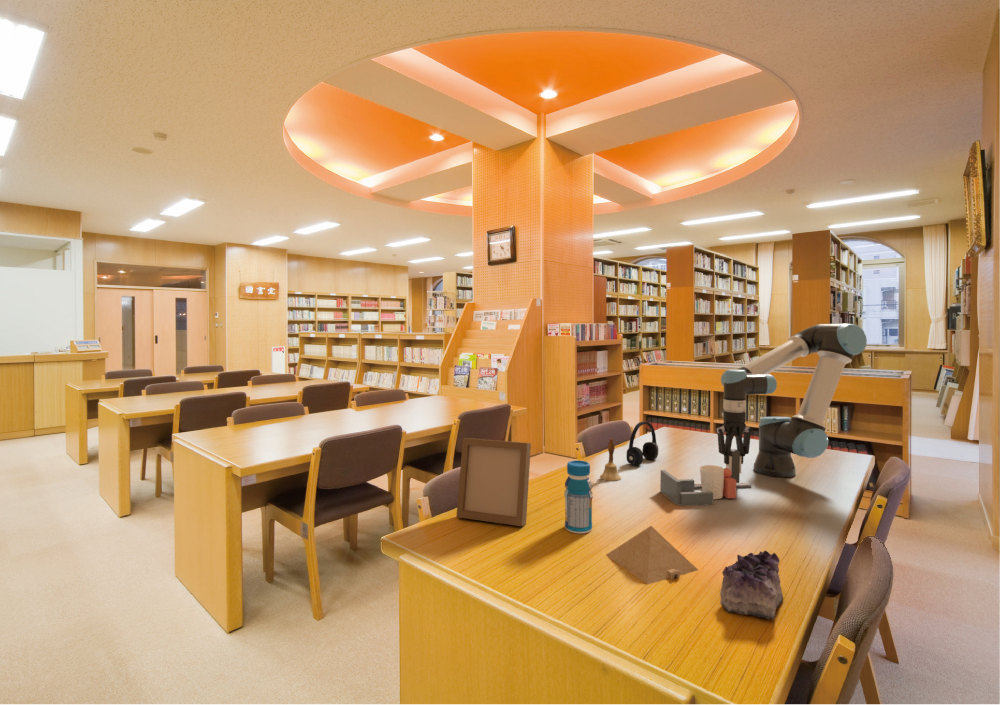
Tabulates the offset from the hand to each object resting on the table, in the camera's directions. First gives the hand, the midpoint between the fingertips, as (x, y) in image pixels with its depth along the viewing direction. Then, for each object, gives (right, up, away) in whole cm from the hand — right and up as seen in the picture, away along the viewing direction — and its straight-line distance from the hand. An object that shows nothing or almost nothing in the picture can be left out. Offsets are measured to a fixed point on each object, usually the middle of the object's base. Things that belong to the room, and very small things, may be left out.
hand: (733, 472), depth 179 cm
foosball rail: (-9, -6, 0) cm, 10 cm away
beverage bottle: (-65, -8, -36) cm, 75 cm away
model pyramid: (-49, -9, -57) cm, 76 cm away
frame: (-22, -6, -11) cm, 25 cm away
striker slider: (-4, -5, -6) cm, 9 cm away
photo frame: (-89, -8, -26) cm, 93 cm away
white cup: (-12, -6, -10) cm, 17 cm away
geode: (-32, -10, -74) cm, 81 cm away
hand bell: (-44, -6, +12) cm, 46 cm away
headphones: (-24, -4, +34) cm, 42 cm away
